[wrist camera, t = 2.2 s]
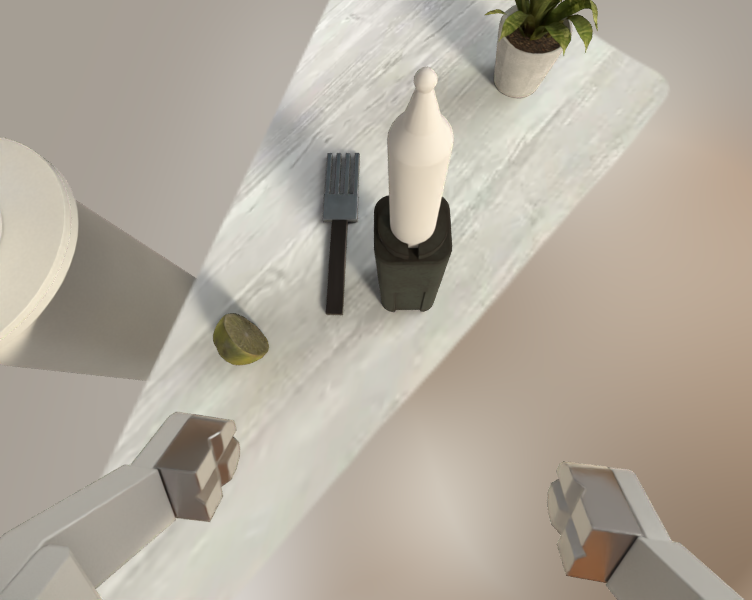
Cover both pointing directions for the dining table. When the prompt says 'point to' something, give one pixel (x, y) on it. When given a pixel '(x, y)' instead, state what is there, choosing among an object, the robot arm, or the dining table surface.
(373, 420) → the dining table surface
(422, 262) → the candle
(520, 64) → the house plant
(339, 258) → the fork
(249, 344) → the lime
